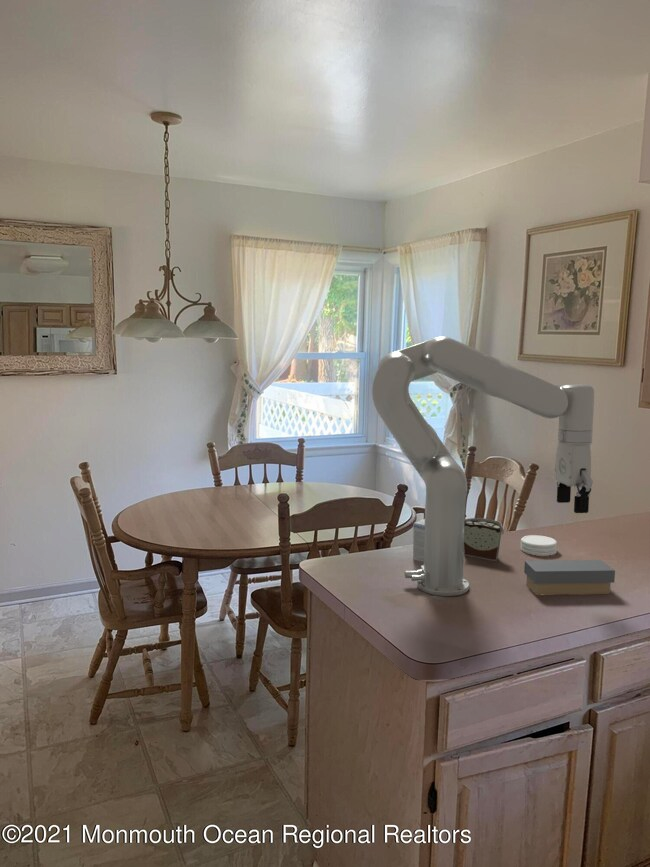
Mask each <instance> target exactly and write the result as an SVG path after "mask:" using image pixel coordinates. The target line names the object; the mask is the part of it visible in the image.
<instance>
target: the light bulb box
mask: <svg viewBox="0 0 650 867" xmlns="http://www.w3.org/2000/svg"><path fill="white" fill-rule="evenodd" d="M412 525H413V526H412V527H413V528H412V529H413V532H412V533H413V534H412V537H413V538H412V539H413V541H412V544H413V545H412V548H413V549H412V550H413V551H412V560H413V561H418V562H422V563H424V539H425V518H423V519H420V520H418V521H415V522H413V524H412Z"/></svg>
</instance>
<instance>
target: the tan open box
mask: <svg viewBox="0 0 650 867" xmlns="http://www.w3.org/2000/svg"><path fill="white" fill-rule="evenodd" d="M526 587H528V588H529V590H531V592H532V593H533V594H534V593H535V594H536V595H535V594H534V595H535V596H542V595H541V594H569V595H602V594H603V595H604V594H605V595H607V594H611V583H542V584H535V583H534V582H533V581H532V580H531V579H530V578H529V577H528V576H527V575H526Z"/></svg>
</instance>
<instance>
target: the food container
mask: <svg viewBox="0 0 650 867" xmlns="http://www.w3.org/2000/svg"><path fill="white" fill-rule="evenodd" d="M504 533H505V530H504V527H503V524H502V523H501V522H500V521H499V520H495V519H490V518H483V517H482V518H481V517H472V518H471V517H470V518H465V520H464V556H467V557H472V558H478V559H483V560H488V561H494V562H497V561H498V560H499V558H498V557H499V552H500V544H501V539H502V538H501V537H502V535H504Z"/></svg>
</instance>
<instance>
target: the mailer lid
mask: <svg viewBox="0 0 650 867" xmlns="http://www.w3.org/2000/svg"><path fill="white" fill-rule="evenodd" d="M523 568H524V569H523V570H524V574H525V575H526V577H527V576H528V577H529V578H530V579H531V580H532V581H533V582H534V583H535V584H542V583H610V584H611V583H613V584H614V583H615V578H616V570H615V569H614V568H612V567H611V566H610V565H608V564H607V563H606V562H604V561H603V560H601V559H570V560H569V559H567V560H566V559H565V560H561V559H560V560H559V559H556V560H548V559H547V560H524V567H523Z"/></svg>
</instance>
